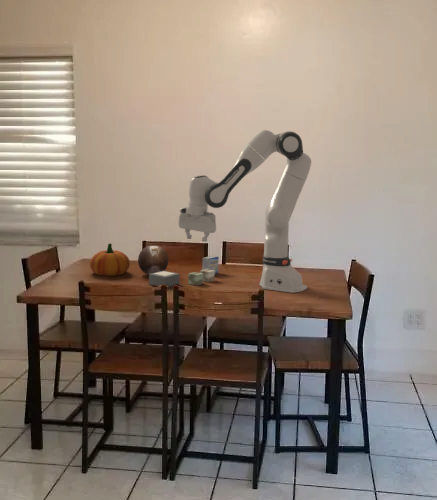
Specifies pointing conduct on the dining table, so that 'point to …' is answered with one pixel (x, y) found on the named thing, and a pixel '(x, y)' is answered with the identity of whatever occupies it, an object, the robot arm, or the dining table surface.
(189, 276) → the sage block
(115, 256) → the pumpkin
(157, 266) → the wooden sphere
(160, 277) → the base block
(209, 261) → the medicine box
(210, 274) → the off-white block
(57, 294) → the dining table surface
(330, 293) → the dining table surface
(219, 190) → the robot arm
